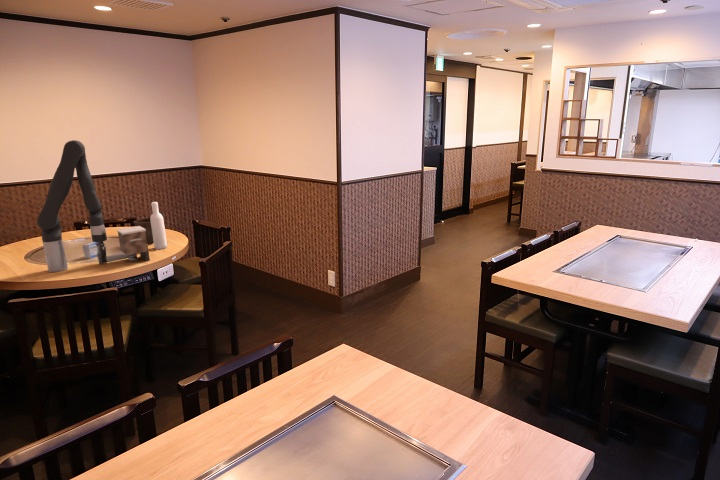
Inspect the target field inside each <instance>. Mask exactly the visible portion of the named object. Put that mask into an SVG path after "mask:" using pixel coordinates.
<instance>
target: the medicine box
mask: <svg viewBox="0 0 720 480" xmlns="http://www.w3.org/2000/svg"><path fill="white" fill-rule="evenodd" d="M96 244H97V242H93V241H91V242H87V243H86V244H83V245H82V250H83V254H84V259H93V258H96V257H97V253H98V250H97V246H96Z"/></svg>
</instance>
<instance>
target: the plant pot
mask: <svg viewBox="0 0 720 480" xmlns="http://www.w3.org/2000/svg"><path fill="white" fill-rule="evenodd" d="M133 225H134V227H135V226H141V227H143V228H144V229H146V231H145V232H146V238H147V244H148V245H154V244H153V243H154V241H153V234H152V228H151V221H150V217H147V218H140V219H136V220H134V221H133Z"/></svg>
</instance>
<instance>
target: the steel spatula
mask: <svg viewBox="0 0 720 480" xmlns="http://www.w3.org/2000/svg"><path fill="white" fill-rule="evenodd" d="M102 254H104V253H102ZM129 256H137V257H138V253H135V254H129V255H126V254H125V253H123V252H121V253H116V254H115V253H114V254H110V255H106V262H104V263H103V262H102V259H101V254H100V253H97V256H96V257H97V262H98V264H99V265H102V264H107V263H110V262H116V261H121V260H126V259H127V260H128V257H129Z"/></svg>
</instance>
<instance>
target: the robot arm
mask: <svg viewBox="0 0 720 480" xmlns="http://www.w3.org/2000/svg"><path fill="white" fill-rule="evenodd" d="M59 161H60V162H59V164H58V166H57V168H56V171H55V172H54V175H53V177H52V180H51V182H50V184H49V185H50V186H49V188H48V191H47V194H46V199H45V202H44V205H43V207H42V209H41V211H40V212H39V215H37V218H36V223H37V226H38V227H39V228H40V229H41V240H42V245H43V250H44V256H45V261H46V266H47V270H48V272H49V273H56V272H62V271H66V270H68V268H69V267H68V261H67V257H66V253H65V247H64V243H63V238H62V237H63V236H62V234H63V233H62V232H63V231H62V226H61V222H60V217H59V212H60V210H61V207H62V205H63V203H64V202H65V200H66V199H67V197H68V195H69V192H70V190H71V188H72V185H73V182H74V176H75V175H74V174H75V171H76V177H77V181H78V185H79V187H80V188H79V189H80V191H81V193H82V194H81V195H82V198H83V202H84V205H85V208H86V209H87V210H88V215H89V216H88V221H89V227H90V229H89V230H90V236H91V242H97V244H96V246H97V250H98V253H100V254H101V259H102V262H103V264H105V263H104V262H106V256H107V247H106V244H105V243H104V242H106V241H108V237H107V231H106V230H107V229H106V227H105V224H104V216H103V207H102V202H101V200H100V199H98V196H97V193H96V192H97V190H96V186H95V184H94V181H93V180H94V179H93V177H92V174H91V172H90V169H89V166H88V161H87V155H86V148H85V145H84V144H83V143H82V142H81V141H79V140H73V139H72V140H69V141H67V142H65V144H64V146H63V149H62V153H61V158H60V160H59ZM102 253H104V254H102Z"/></svg>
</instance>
